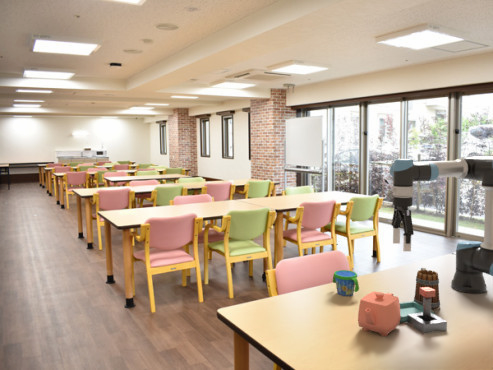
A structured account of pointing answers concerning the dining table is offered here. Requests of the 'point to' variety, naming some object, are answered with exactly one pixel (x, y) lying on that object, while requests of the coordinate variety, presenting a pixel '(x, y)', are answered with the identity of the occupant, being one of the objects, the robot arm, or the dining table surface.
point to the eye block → (426, 323)
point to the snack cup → (345, 282)
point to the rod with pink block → (427, 301)
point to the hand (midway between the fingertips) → (401, 247)
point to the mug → (427, 280)
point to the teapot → (379, 312)
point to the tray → (409, 310)
